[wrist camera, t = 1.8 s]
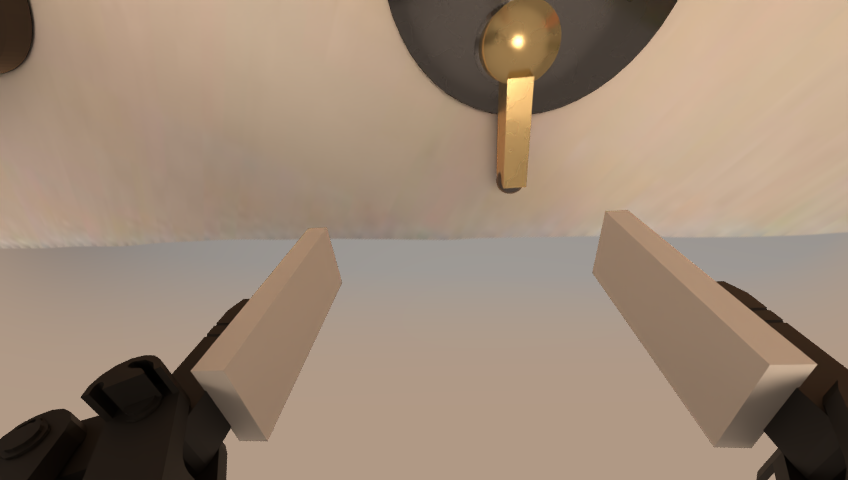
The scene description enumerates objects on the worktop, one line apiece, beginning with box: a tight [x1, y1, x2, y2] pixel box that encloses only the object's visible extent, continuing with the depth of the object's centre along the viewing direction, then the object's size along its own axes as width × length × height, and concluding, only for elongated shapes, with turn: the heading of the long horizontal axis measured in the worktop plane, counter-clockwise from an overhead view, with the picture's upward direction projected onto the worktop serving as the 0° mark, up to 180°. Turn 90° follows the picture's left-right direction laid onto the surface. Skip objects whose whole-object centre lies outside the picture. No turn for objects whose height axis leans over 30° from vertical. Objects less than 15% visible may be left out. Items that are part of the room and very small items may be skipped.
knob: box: [478, 0, 561, 194], centre depth 24 cm, size 14×5×4 cm, turn 5°
